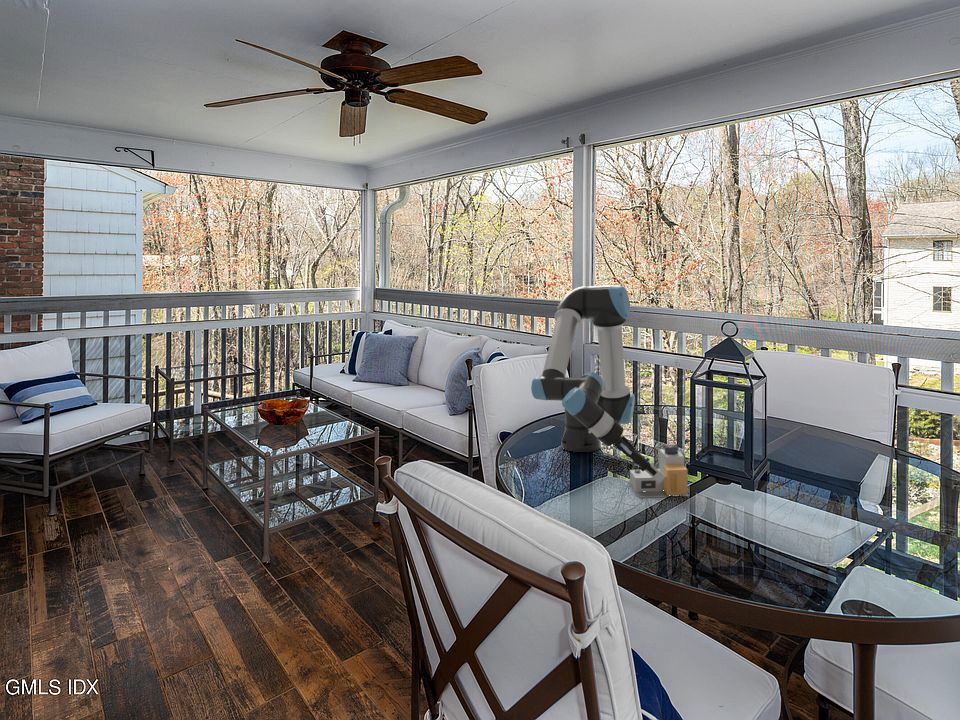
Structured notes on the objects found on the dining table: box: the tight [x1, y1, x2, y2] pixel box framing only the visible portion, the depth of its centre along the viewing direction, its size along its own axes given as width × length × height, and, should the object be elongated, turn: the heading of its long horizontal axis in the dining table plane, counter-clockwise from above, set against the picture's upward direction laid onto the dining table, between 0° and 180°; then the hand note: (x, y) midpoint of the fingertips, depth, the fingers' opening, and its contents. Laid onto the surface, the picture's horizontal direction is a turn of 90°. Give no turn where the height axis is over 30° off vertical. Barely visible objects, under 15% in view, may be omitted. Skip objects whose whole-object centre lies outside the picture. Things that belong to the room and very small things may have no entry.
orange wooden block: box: [663, 464, 689, 496], centre depth 174 cm, size 6×5×8 cm
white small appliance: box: [629, 444, 684, 499], centre depth 178 cm, size 15×12×13 cm
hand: (661, 479), depth 174 cm, fingers closed
